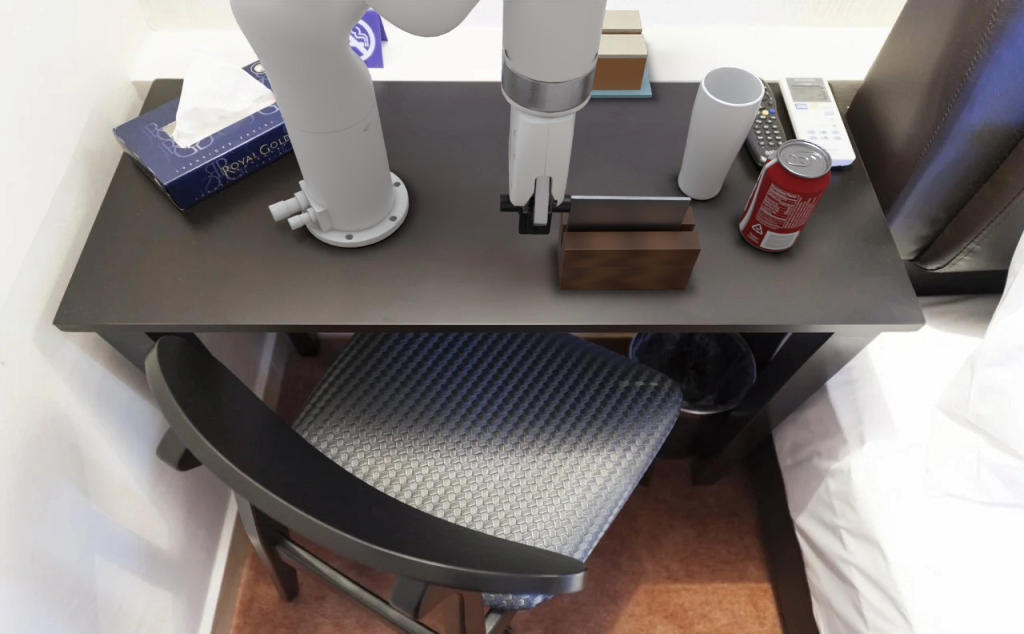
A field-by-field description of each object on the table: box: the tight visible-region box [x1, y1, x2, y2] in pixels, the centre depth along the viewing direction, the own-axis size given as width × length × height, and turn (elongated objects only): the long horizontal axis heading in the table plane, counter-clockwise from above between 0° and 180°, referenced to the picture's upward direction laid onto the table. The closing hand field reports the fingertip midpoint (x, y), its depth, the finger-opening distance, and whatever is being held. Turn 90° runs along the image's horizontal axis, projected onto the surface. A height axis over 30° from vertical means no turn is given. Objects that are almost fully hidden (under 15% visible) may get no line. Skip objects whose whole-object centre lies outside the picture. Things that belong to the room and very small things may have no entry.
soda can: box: [738, 138, 833, 253], centre depth 73 cm, size 7×7×12 cm
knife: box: [499, 193, 692, 232], centre depth 68 cm, size 19×2×6 cm, turn 91°
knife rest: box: [556, 206, 702, 291], centre depth 72 cm, size 14×6×7 cm, turn 91°
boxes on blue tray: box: [590, 9, 653, 99], centre depth 92 cm, size 12×12×6 cm
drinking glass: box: [677, 65, 766, 201], centre depth 76 cm, size 7×7×15 cm
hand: (533, 221), depth 69 cm, fingers closed on knife, 1 cm apart
